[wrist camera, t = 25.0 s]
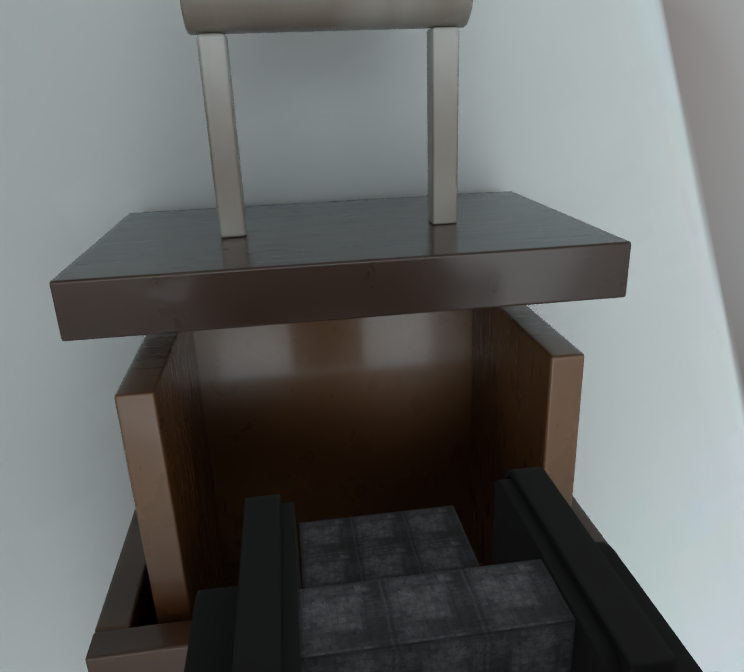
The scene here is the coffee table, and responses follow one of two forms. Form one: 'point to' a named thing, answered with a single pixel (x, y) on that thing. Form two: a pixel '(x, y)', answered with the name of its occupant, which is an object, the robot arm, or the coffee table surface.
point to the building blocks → (423, 600)
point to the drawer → (334, 330)
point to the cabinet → (139, 622)
